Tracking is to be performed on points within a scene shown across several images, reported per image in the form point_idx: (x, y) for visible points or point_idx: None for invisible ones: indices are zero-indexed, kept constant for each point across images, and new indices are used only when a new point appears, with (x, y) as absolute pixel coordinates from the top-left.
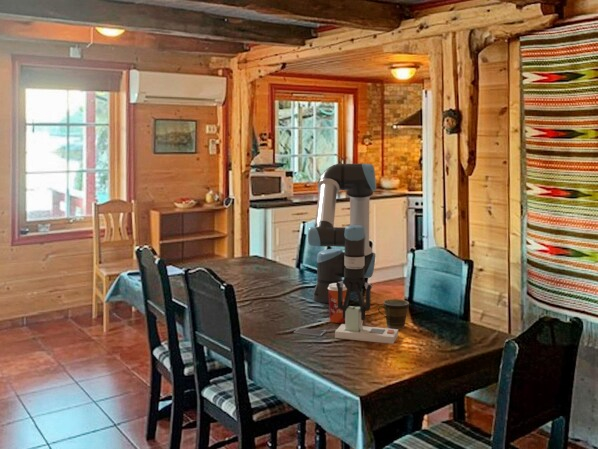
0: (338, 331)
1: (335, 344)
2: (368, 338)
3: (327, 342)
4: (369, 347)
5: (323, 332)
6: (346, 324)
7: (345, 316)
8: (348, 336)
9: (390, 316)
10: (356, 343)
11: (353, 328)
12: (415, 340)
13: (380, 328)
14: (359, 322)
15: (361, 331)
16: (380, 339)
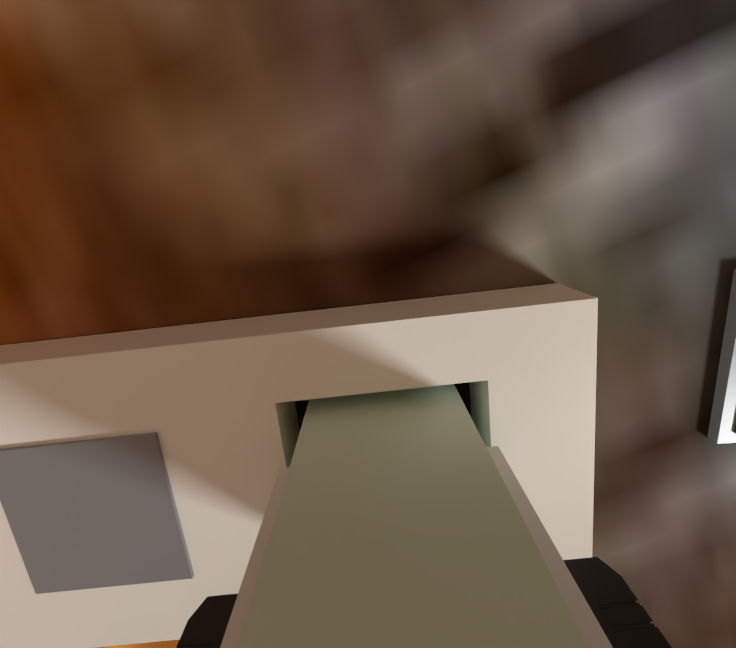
0: (549, 315)
1: (476, 38)
2: (150, 336)
3: (596, 73)
4: (51, 115)
5: (732, 377)
6: (483, 444)
7: (567, 577)
8: (398, 307)
9: None
10: (254, 196)
11: (366, 429)
12: None
13: (116, 620)
14: None
15: (265, 436)
16: (3, 351)
